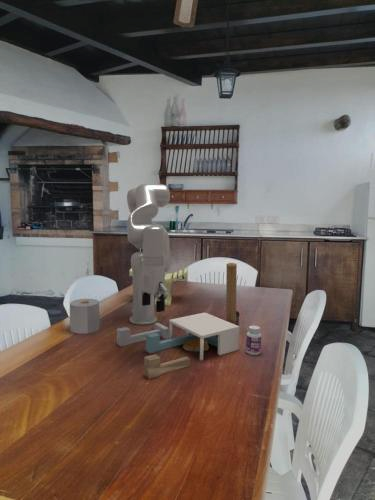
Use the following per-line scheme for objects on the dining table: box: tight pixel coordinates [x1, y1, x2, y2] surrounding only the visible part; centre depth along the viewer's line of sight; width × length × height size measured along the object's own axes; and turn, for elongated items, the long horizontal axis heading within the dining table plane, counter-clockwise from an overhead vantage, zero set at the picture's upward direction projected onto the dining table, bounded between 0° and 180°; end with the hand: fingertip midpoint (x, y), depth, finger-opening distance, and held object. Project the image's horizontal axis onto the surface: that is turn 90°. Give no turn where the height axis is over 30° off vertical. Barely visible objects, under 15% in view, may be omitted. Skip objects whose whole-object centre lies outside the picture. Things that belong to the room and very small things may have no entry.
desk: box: [168, 312, 240, 361], centre depth 144 cm, size 20×18×9 cm
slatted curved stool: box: [128, 267, 189, 306], centre depth 205 cm, size 30×16×18 cm, turn 89°
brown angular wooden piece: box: [143, 353, 191, 380], centre depth 123 cm, size 3×16×6 cm, turn 126°
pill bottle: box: [245, 325, 262, 356], centre depth 139 cm, size 5×5×10 cm
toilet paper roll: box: [69, 298, 101, 335], centre depth 160 cm, size 12×12×12 cm
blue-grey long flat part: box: [145, 333, 218, 354], centre depth 141 cm, size 12×26×6 cm, turn 126°
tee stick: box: [116, 322, 170, 347], centre depth 149 cm, size 8×20×6 cm, turn 126°
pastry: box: [182, 338, 210, 353], centre depth 142 cm, size 9×7×4 cm
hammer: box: [225, 262, 240, 326], centre depth 160 cm, size 20×5×30 cm, turn 164°
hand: (153, 308), depth 137 cm, fingers open, 9 cm apart
